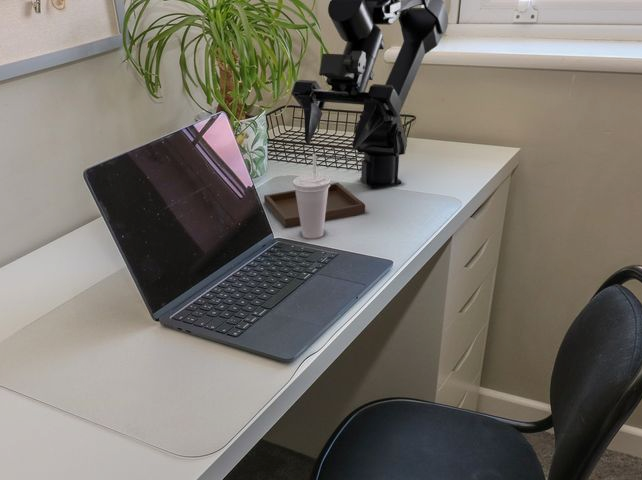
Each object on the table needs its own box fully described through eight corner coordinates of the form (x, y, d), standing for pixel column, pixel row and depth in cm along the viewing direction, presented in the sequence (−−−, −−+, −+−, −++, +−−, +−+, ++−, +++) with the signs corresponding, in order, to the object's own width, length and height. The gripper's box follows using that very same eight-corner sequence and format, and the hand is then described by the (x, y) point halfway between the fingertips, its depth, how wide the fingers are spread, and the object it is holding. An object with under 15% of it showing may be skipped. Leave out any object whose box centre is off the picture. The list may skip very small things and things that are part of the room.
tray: (338, 190, 139) (338, 182, 138) (365, 213, 128) (365, 204, 127) (264, 203, 136) (263, 195, 135) (285, 227, 126) (285, 219, 125)
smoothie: (332, 240, 120) (331, 158, 111) (295, 242, 120) (292, 161, 112) (329, 226, 125) (328, 147, 116) (294, 228, 125) (290, 149, 117)
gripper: (293, 28, 116) (263, 116, 116) (396, 30, 107) (364, 125, 107) (317, 67, 126) (290, 148, 126) (414, 71, 117) (385, 158, 117)
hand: (329, 144), depth 119 cm, fingers open, 9 cm apart
